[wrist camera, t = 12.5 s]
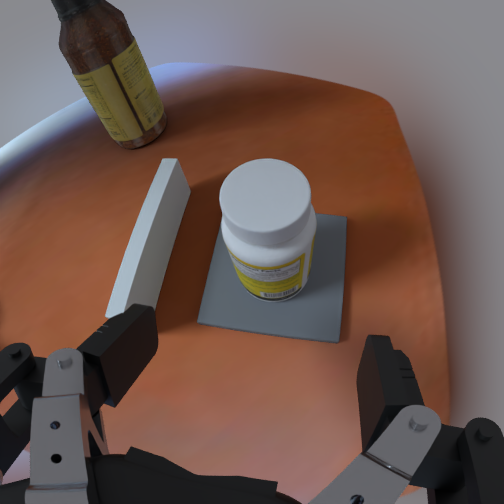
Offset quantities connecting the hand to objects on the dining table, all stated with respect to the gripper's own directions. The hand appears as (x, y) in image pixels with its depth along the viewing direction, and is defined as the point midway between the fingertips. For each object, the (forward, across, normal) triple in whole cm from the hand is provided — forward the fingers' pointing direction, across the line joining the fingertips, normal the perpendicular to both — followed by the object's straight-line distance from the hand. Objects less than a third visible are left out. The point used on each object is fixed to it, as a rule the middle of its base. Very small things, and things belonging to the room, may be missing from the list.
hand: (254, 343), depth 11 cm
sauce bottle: (+20, +16, -8) cm, 27 cm away
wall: (+10, +9, +1) cm, 14 cm away
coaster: (+10, 0, +1) cm, 11 cm away
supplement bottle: (+10, 0, +1) cm, 10 cm away
